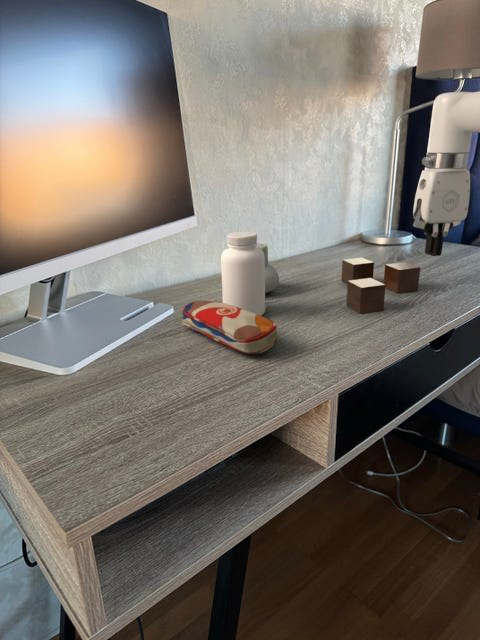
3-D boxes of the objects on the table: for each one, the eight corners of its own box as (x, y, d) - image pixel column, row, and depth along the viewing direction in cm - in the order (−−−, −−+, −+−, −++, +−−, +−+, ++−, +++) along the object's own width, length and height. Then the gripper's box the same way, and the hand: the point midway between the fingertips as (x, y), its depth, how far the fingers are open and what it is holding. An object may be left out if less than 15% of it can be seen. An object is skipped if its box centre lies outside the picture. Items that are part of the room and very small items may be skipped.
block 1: (360, 278, 102) (362, 257, 100) (372, 284, 98) (374, 262, 96) (341, 281, 101) (342, 259, 99) (352, 287, 96) (353, 264, 95)
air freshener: (229, 287, 100) (227, 243, 96) (263, 282, 102) (262, 239, 99) (245, 301, 90) (243, 253, 87) (282, 296, 93) (282, 248, 89)
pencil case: (219, 369, 63) (217, 337, 61) (177, 324, 80) (174, 298, 78) (286, 352, 67) (286, 321, 66) (233, 313, 84) (231, 288, 82)
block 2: (369, 302, 87) (370, 277, 85) (383, 310, 82) (385, 284, 81) (346, 305, 86) (347, 280, 84) (359, 314, 81) (361, 287, 79)
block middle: (403, 284, 97) (405, 262, 95) (418, 290, 92) (420, 267, 91) (383, 287, 96) (385, 264, 94) (397, 293, 91) (399, 270, 89)
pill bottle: (258, 322, 79) (255, 238, 74) (216, 318, 82) (211, 237, 77) (270, 307, 86) (269, 230, 81) (232, 304, 89) (228, 229, 83)
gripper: (426, 164, 82) (413, 261, 89) (492, 162, 86) (475, 255, 93) (401, 163, 89) (391, 253, 95) (463, 161, 92) (449, 248, 99)
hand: (432, 254), depth 94 cm, fingers closed
